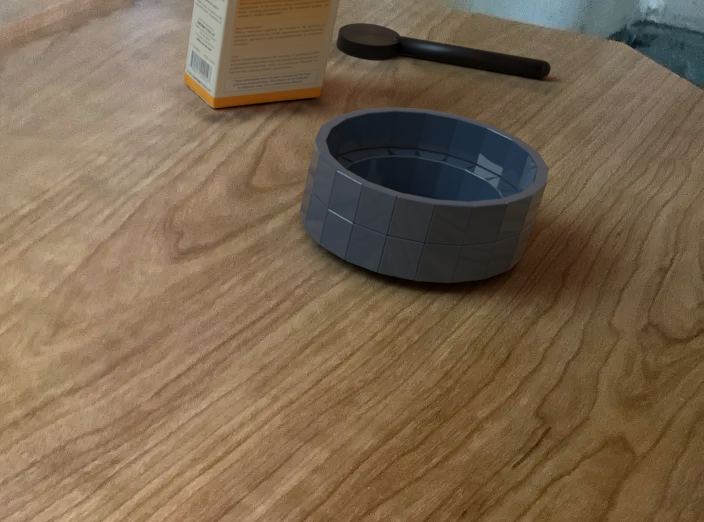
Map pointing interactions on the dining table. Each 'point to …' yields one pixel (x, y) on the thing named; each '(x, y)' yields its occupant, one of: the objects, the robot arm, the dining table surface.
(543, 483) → the dining table surface
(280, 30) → the supplement box
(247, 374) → the dining table surface
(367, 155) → the bowl
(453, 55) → the dark round paddle
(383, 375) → the dining table surface
